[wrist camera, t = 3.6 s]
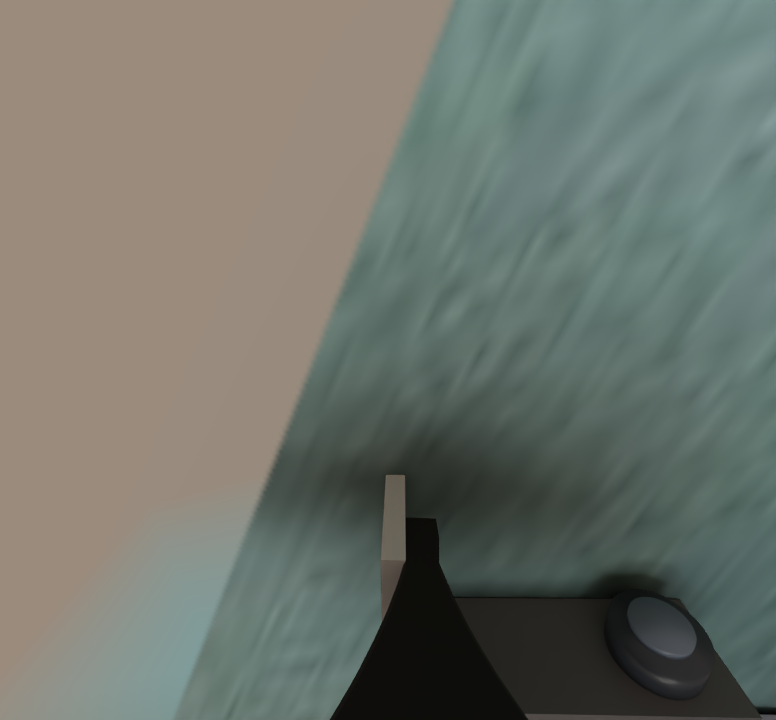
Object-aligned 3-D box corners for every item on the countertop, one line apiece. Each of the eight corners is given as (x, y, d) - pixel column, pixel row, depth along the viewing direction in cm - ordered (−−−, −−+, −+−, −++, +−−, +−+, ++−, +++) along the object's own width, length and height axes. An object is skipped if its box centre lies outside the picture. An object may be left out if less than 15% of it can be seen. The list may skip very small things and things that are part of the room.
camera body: (688, 573, 14) (777, 689, 11) (645, 699, 17) (706, 822, 13) (406, 572, 14) (407, 683, 11) (409, 694, 17) (410, 813, 14)
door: (384, 474, 13) (378, 559, 10) (406, 475, 12) (407, 560, 10) (386, 601, 15) (382, 703, 12) (405, 602, 15) (406, 704, 12)
